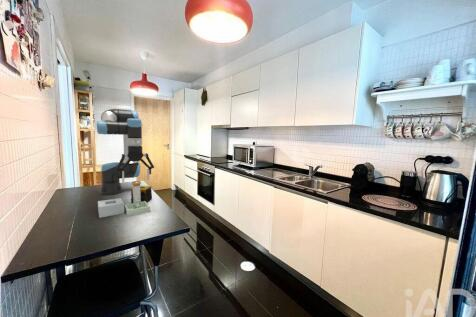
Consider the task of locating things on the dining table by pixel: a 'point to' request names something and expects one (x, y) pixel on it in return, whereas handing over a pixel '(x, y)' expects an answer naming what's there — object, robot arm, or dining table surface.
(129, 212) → the tray
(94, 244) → the dining table surface
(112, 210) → the block
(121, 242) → the dining table surface
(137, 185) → the pin
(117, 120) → the robot arm
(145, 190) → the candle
